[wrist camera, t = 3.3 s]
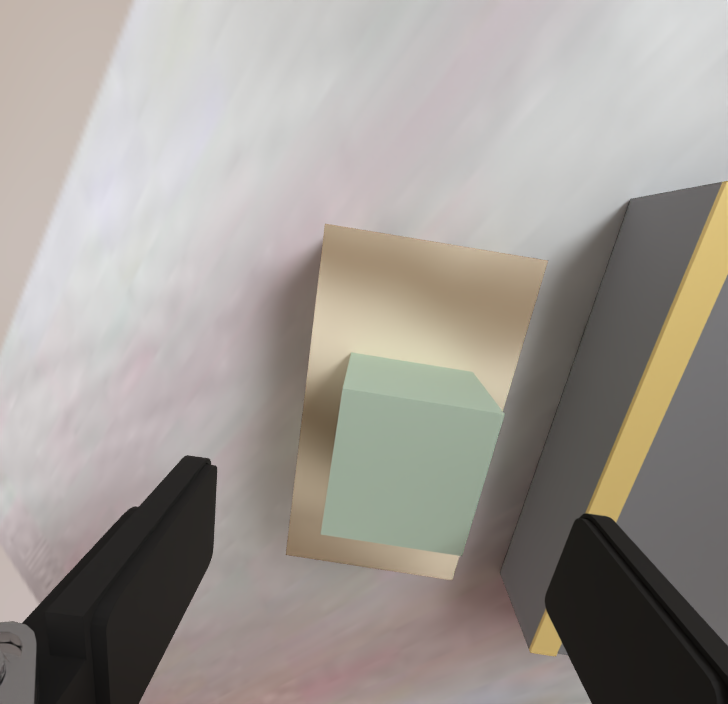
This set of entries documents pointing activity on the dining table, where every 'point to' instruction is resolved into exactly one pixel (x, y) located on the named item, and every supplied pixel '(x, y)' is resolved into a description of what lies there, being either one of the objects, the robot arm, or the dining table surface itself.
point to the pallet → (401, 355)
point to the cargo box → (409, 454)
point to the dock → (642, 415)
